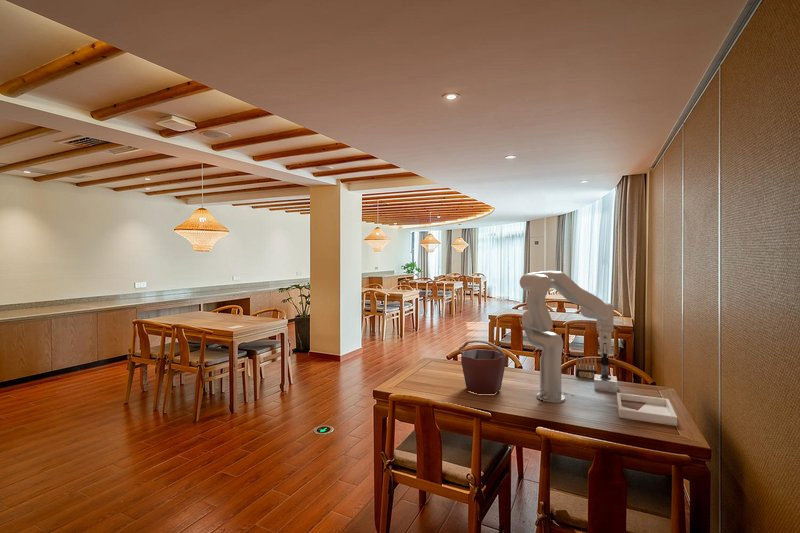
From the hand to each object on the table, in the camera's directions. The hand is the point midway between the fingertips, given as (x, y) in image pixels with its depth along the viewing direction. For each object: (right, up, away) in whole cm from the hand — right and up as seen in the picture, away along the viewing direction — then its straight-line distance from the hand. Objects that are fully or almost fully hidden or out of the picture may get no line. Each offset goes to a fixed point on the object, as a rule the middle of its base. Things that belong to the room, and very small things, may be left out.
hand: (604, 364), depth 197 cm
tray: (+2, -14, -28) cm, 31 cm away
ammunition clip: (0, -13, +19) cm, 23 cm away
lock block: (+1, -13, 0) cm, 13 cm away
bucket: (-60, -14, +4) cm, 62 cm away
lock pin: (0, -7, 0) cm, 7 cm away
